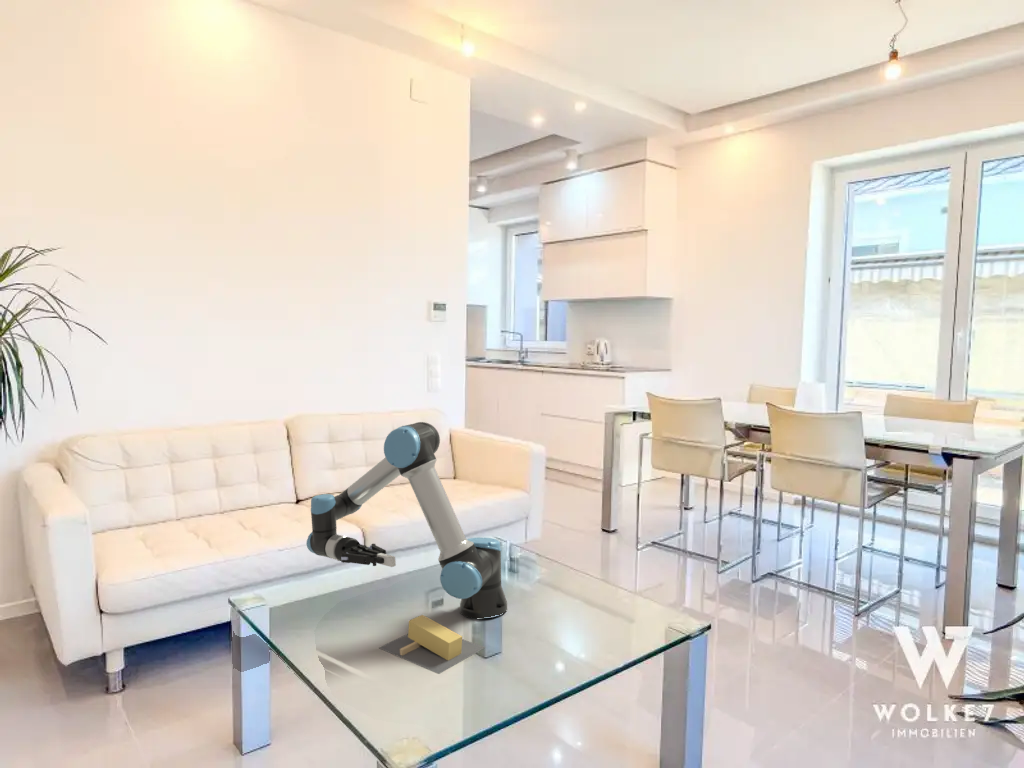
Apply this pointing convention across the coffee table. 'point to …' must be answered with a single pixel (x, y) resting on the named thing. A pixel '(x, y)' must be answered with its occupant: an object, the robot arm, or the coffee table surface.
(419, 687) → the coffee table surface
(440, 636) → the mustard block
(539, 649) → the coffee table surface
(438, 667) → the tipping mat
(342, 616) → the coffee table surface
